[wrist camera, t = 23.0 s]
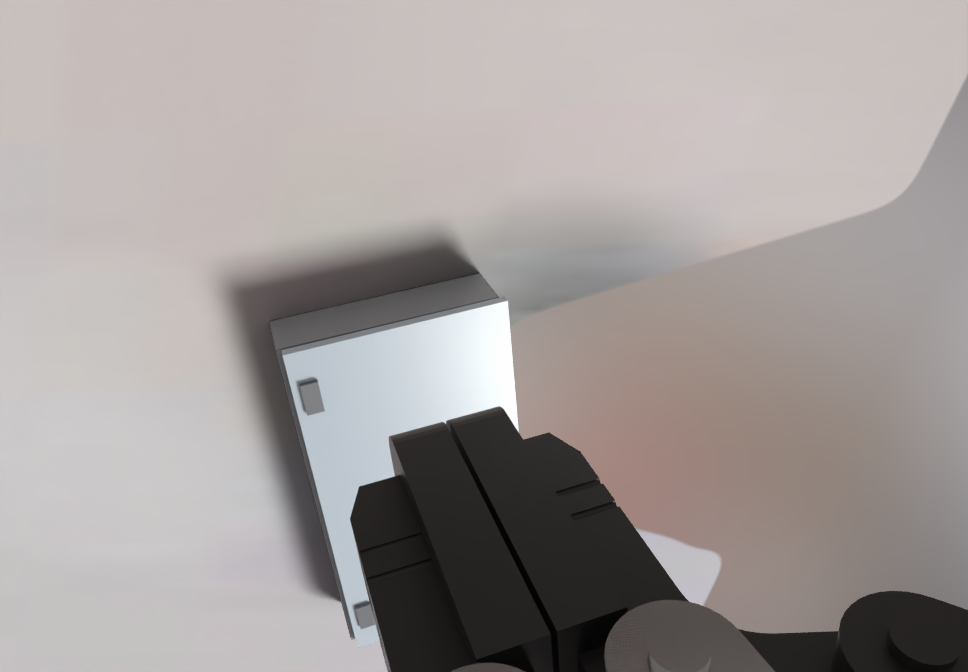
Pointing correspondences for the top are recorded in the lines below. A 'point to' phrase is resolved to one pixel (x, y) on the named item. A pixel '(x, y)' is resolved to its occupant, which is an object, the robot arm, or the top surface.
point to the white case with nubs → (359, 319)
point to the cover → (391, 408)
